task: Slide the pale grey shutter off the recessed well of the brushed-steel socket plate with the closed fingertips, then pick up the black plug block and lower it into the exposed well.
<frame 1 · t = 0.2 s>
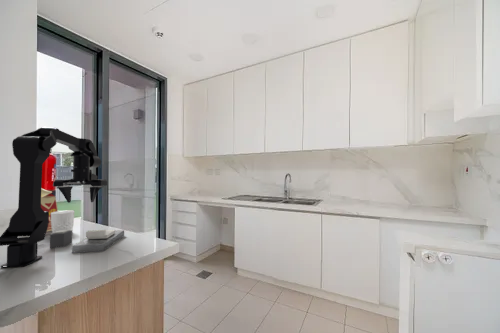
hand: (80, 202, 92), 14 cm above the countertop, tool pointing down, fingers open, 9 cm apart
shutter: (100, 232, 81), point 4 cm above the countertop, slide at 0.0 cm
plug: (61, 245, 79), on the countertop
white cup: (62, 234, 92), on the countertop
milk carton: (43, 230, 98), on the countertop
socket plate: (101, 243, 81), on the countertop
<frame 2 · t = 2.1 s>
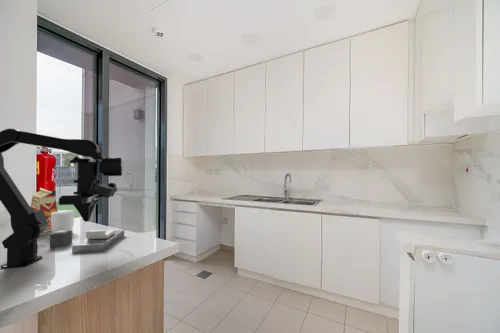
hand: (86, 221, 72), 11 cm above the countertop, tool pointing down, fingers closed
nothing on the countertop moved.
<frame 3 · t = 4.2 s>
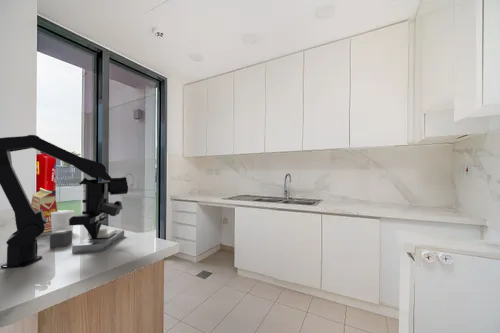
hand: (94, 238, 76), 4 cm above the countertop, tool pointing down, fingers closed
shutter: (102, 231, 82), point 4 cm above the countertop, slide at 1.1 cm, touching gripper
everything else where it was.
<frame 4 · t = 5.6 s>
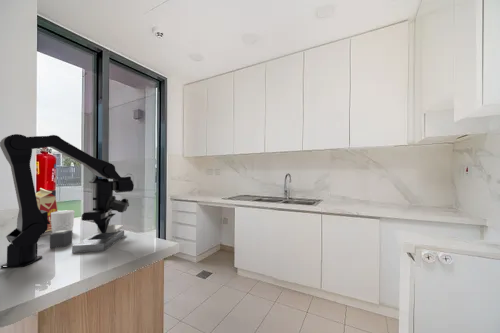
hand: (103, 232, 83), 4 cm above the countertop, tool pointing down, fingers closed
shutter: (110, 226, 88), point 4 cm above the countertop, slide at 7.7 cm, touching gripper
everything else where it was.
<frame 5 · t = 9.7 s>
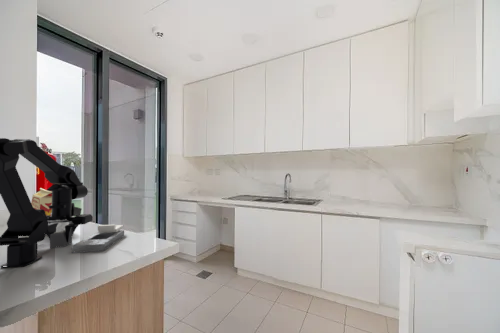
hand: (61, 242, 79), 1 cm above the countertop, tool pointing down, fingers closed on plug, 4 cm apart
shutter: (110, 226, 89), point 4 cm above the countertop, slide at 7.8 cm
plug: (61, 245, 79), on the countertop, touching gripper
everything else where it was.
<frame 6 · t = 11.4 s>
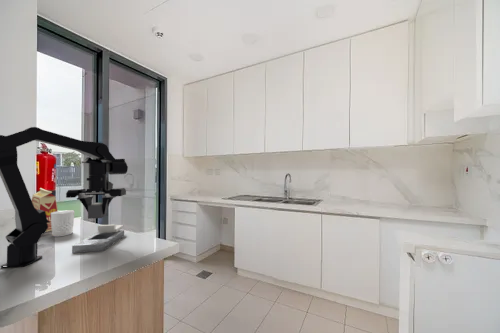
hand: (97, 214, 82), 11 cm above the countertop, tool pointing down, fingers closed on plug, 4 cm apart
plug: (97, 217, 82), point 10 cm above the countertop, touching gripper
everything else where it was.
when the fingers open (3 cm above the countertop, at t = 13.4 s): plug drops 2 cm, resting on socket plate.
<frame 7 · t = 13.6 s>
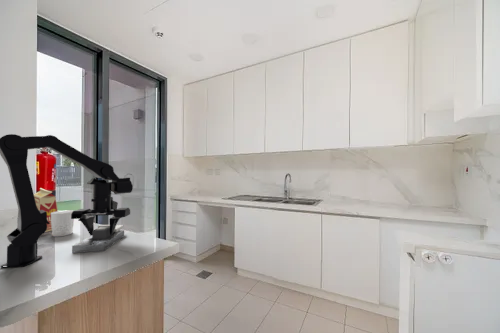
hand: (101, 234, 81), 3 cm above the countertop, tool pointing down, fingers open, 7 cm apart
plug: (101, 241, 82), resting on socket plate
everything else where it was.
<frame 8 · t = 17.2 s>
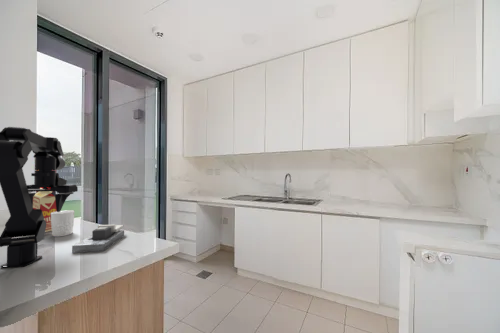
hand: (44, 212, 77), 13 cm above the countertop, tool pointing down, fingers open, 9 cm apart
nothing on the countertop moved.
at the end: shutter slide at 7.8 cm; plug 0.1 cm off-centre on the socket plate, point 0.5 cm above the socket plate's base; the gripper is holding nothing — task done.
